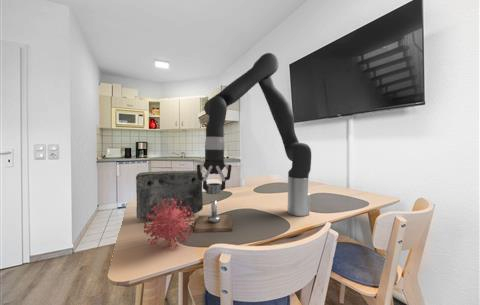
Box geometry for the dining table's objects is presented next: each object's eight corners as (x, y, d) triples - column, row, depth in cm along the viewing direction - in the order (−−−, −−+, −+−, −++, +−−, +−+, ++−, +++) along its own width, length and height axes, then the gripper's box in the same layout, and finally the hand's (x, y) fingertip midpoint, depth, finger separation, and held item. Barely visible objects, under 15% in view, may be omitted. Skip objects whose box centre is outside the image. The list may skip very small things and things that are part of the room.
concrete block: (200, 211, 97) (200, 169, 96) (203, 217, 89) (203, 172, 88) (138, 217, 88) (138, 171, 87) (135, 225, 79) (135, 174, 79)
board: (230, 217, 89) (230, 214, 89) (232, 231, 75) (232, 227, 75) (198, 218, 87) (198, 215, 87) (194, 232, 73) (194, 228, 73)
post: (220, 218, 84) (220, 199, 83) (219, 223, 79) (220, 202, 79) (208, 219, 83) (208, 199, 83) (207, 223, 78) (207, 202, 78)
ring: (221, 190, 84) (221, 183, 84) (221, 194, 78) (221, 186, 78) (206, 190, 83) (206, 183, 83) (205, 194, 77) (205, 186, 77)
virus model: (147, 265, 53) (147, 209, 52) (141, 242, 65) (141, 196, 65) (201, 250, 61) (201, 201, 60) (186, 232, 73) (186, 191, 73)
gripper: (232, 148, 85) (231, 188, 85) (197, 148, 83) (197, 188, 84) (233, 149, 77) (232, 192, 78) (195, 148, 76) (194, 192, 76)
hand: (214, 190), depth 81 cm, fingers closed on ring, 6 cm apart
